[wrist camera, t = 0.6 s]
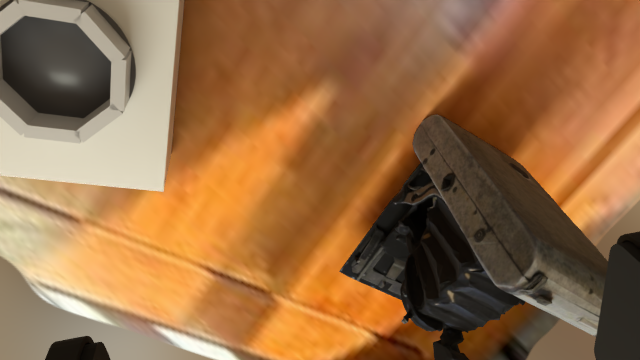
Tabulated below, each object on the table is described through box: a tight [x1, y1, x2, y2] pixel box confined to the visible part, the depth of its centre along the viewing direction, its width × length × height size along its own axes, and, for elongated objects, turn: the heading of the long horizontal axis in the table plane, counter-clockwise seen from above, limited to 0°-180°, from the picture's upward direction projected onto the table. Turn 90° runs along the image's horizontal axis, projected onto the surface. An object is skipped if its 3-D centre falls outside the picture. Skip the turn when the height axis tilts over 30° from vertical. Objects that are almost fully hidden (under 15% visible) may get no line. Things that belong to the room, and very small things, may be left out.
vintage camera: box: [339, 114, 608, 360], centre depth 41 cm, size 10×16×20 cm, turn 147°
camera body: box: [0, 0, 184, 192], centre depth 35 cm, size 20×13×8 cm, turn 169°
